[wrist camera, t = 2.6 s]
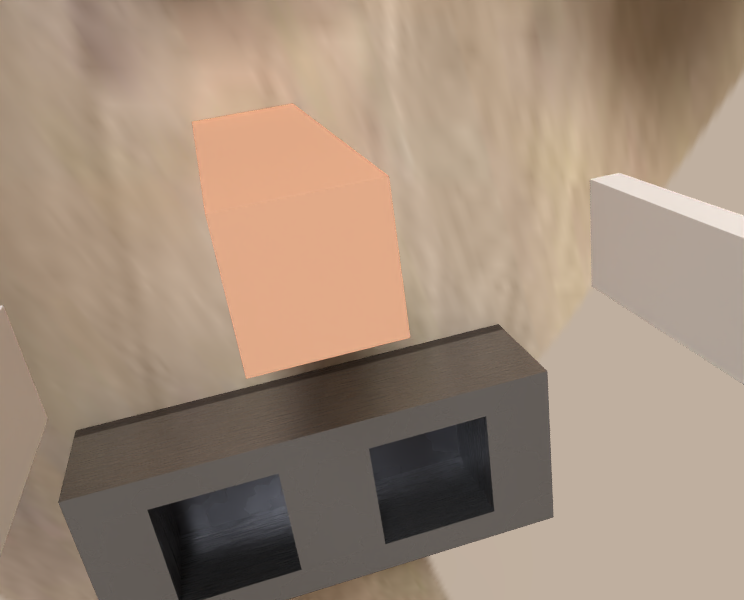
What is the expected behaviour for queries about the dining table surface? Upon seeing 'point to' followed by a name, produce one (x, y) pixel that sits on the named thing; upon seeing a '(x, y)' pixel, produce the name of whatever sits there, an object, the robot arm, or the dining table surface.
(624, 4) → the dining table surface
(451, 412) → the grey peg hole block
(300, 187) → the terracotta peg
